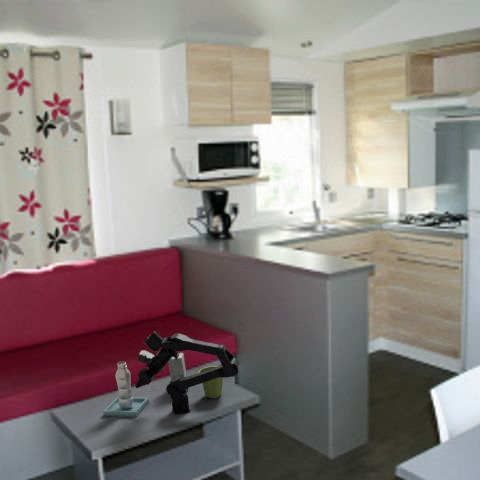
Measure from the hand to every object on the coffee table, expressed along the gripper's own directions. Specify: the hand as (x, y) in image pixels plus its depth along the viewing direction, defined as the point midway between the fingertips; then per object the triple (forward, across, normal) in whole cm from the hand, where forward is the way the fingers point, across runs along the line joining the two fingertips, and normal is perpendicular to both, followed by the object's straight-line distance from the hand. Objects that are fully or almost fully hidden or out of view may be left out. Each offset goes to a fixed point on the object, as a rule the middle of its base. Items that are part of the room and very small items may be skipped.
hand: (140, 383), depth 281 cm
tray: (+14, 0, +3) cm, 14 cm away
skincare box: (+2, -23, +15) cm, 28 cm away
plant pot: (-10, -17, +28) cm, 34 cm away
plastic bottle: (+13, 0, +3) cm, 14 cm away
